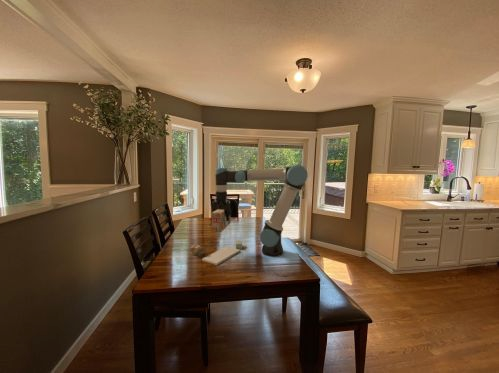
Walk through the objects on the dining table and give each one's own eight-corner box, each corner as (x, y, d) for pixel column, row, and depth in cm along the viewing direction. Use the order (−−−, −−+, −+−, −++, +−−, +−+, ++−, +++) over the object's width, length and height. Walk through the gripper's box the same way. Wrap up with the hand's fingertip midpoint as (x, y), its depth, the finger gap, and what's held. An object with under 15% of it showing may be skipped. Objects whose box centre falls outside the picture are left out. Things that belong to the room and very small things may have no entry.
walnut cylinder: (206, 255, 154) (206, 247, 153) (201, 258, 150) (201, 249, 149) (201, 254, 156) (201, 245, 155) (196, 256, 152) (196, 247, 151)
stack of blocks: (222, 222, 165) (222, 206, 164) (230, 223, 164) (230, 206, 163) (211, 231, 144) (211, 212, 143) (221, 232, 143) (221, 212, 142)
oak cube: (200, 252, 159) (200, 245, 158) (196, 255, 154) (196, 248, 154) (193, 251, 160) (193, 244, 160) (190, 254, 156) (189, 247, 155)
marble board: (240, 251, 162) (240, 249, 162) (216, 265, 140) (216, 263, 140) (226, 247, 168) (226, 246, 168) (202, 260, 146) (202, 258, 146)
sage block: (242, 245, 173) (242, 240, 173) (241, 249, 166) (241, 244, 166) (236, 245, 173) (236, 240, 173) (236, 249, 166) (236, 244, 166)
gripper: (237, 191, 149) (237, 225, 151) (213, 189, 160) (213, 221, 162) (230, 192, 143) (230, 228, 145) (205, 190, 154) (206, 223, 156)
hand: (221, 224), depth 154 cm, fingers closed on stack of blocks, 8 cm apart
